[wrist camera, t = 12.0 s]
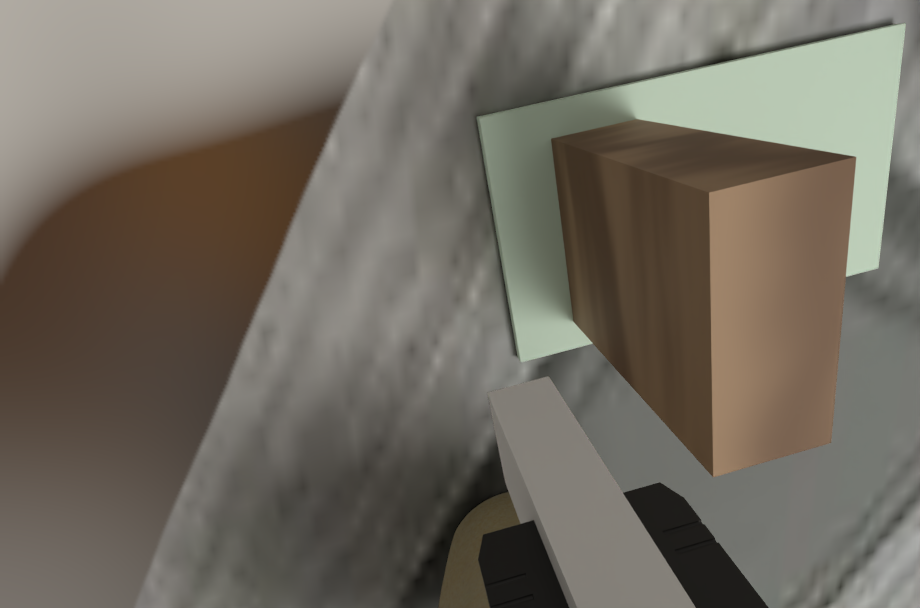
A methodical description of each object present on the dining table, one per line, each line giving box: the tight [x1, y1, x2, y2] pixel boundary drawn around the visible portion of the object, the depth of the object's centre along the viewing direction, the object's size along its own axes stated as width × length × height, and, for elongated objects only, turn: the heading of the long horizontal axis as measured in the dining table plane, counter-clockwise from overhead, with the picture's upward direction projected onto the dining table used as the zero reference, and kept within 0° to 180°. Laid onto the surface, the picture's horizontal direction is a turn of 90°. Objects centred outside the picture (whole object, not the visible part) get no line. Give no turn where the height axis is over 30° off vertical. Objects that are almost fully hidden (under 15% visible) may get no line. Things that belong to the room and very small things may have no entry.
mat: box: [476, 23, 906, 362], centre depth 28 cm, size 20×12×1 cm, turn 101°
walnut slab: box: [551, 119, 856, 477], centre depth 22 cm, size 4×9×12 cm, turn 11°
